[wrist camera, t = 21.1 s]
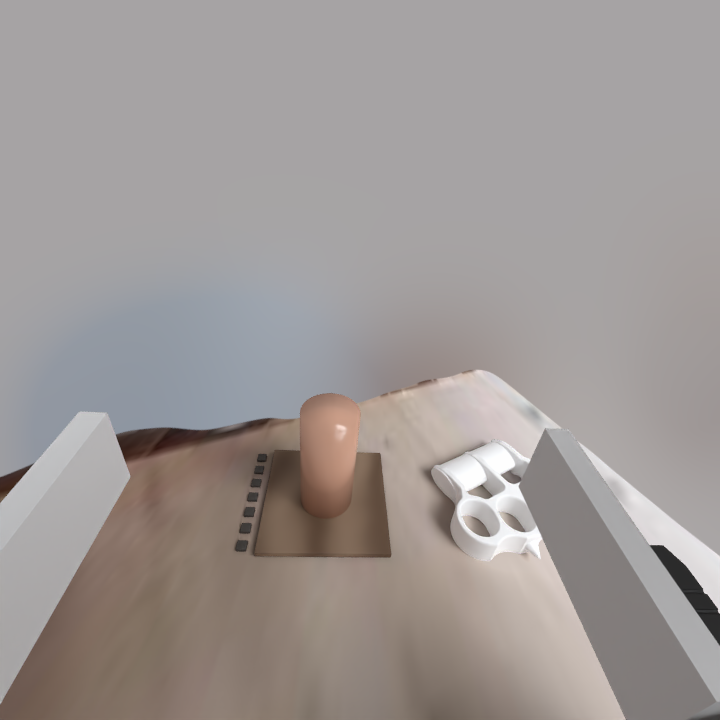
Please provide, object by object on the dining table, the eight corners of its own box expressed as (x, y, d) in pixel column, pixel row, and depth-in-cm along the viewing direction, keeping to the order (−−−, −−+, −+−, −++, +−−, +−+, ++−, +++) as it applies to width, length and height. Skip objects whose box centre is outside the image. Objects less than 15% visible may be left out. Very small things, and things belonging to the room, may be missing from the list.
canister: (351, 476, 48) (359, 394, 41) (352, 519, 43) (361, 434, 36) (302, 474, 48) (302, 392, 41) (298, 518, 43) (297, 432, 36)
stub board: (379, 456, 52) (380, 453, 52) (390, 557, 40) (391, 554, 40) (259, 452, 51) (259, 449, 51) (234, 555, 39) (234, 552, 39)
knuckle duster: (506, 442, 57) (599, 522, 47) (409, 488, 49) (495, 596, 38) (513, 426, 55) (611, 504, 45) (413, 469, 47) (505, 578, 37)
